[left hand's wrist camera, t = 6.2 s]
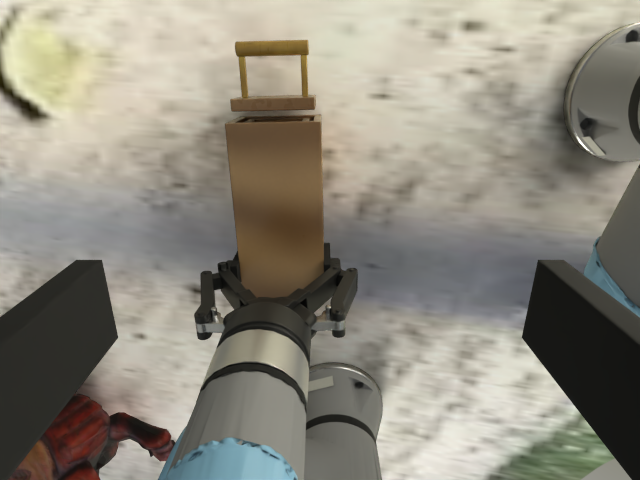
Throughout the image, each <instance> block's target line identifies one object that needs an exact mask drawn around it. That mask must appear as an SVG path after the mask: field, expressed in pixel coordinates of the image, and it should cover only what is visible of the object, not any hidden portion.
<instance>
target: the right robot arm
mask: <svg viewBox="0 0 640 480" xmlns="http://www.w3.org/2000/svg"><path fill="white" fill-rule="evenodd" d="M218 272H219V273H216V274H212V272H211V271H203V272H202V273H201V305H200V307H199V308H198V310H197V311H196V313H195V314H194V317H195V323H196V329H197V336H198V339H200V340H206V339H208V338H210V337H211V335H212V333H213V332H214V333H222V336H221V338H220V341H219V343H218V346H217V348H216V351H215V353H214V356H213V358H212V360H211V363H210V366H209V368H208V371H207V374H206V376H205V379H204V382H203V384H202V387H201V390H200V393H199V396H198V399H197V401H196V405H195V407H194V410H193V412H192V415H191V417H190V420H189V422H188V424H187V426H186V427H185V429H184V430H183V432H182V433H181V435H180V436H179V438H178V440H177V441H176V443H175V445H174V447H173V449H172V451H171V453H170V455H169V457H168V459H167V461H166V463H165V465H164V467H163V470H162V472H161V474H160V476H159V479H158V480H382V477H381V471H380V464H379V458H378V452H377V445H376V438H377V434H378V430H379V426H380V422H381V418H382V407H383V405H382V398H381V393H380V390H379V387H378V386H377V384H376V382H375V381H374V380H373V379H372V377H371V376H369V375H368V374H367V373H366V372H364V371H363V370H361V369H359V368H357V367H354V366H352V365H348V364H344V363H323V364H319V365H315V366H312V367H310V368H309V366H310V346H311V339H312V337H313V336H314V335H315V334H316V332H317V331H325V330H332V335H333V336H334V337H337V338H340V337H343V336H345V318H346V316H347V313H348V311H349V309H350V306H351V304H352V302H353V299H354V297H355V295H356V292H357V280H358V270H357V269H355V268H349V269H347V270H346V271H343V270H341V266H340V260H339V259H338V258H330V243H324V273H323V274H321V275H320V276H319V277H318V278H316V279H315V280H314V281H313V282H311V283H310V284H309V285H308V286H306V287H305V288H304V289H300V288H298V289H297V290H295V291H294V292H293V293H291V294H290V295H289V296H287V297H276V298H271V297H258V298H257V297H256V296H255V295H254V294H253V293H252V292H251V290H250V289H247V290H246V289H245V287H244V286H243V285H242V284H241V275H240V266H239V256H238V251H237V253H236V255H235V257H234V259H233V260H228V261H227V262H220V263H218ZM217 289H221V292H222V293H223V294H224V296H225V297H226V299H227V300H228V301H229V303H230V304H231V306H232V307H233V308H234V311H232V312H230V313H229V314H227V315H226V316H225V317H224V318H222V317H221V314H220V313H219V312H217V308H216V306H215V293H214V290H217ZM332 296H333V297H332ZM331 297H332V299H331V305H326V310H325V311H323V313H322V315H320V316H317V317H316V316H315V314H314V312H315V311H317V310H318V309H319V308H320V307H321V306H322V305H323V304H324V303H325V302H326V301H327V300H329V299H330V298H331Z"/></svg>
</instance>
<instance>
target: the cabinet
mask: <svg viewBox="0 0 640 480" xmlns="http://www.w3.org/2000/svg"><path fill="white" fill-rule="evenodd" d="M274 118H310V121H287V122H245V121H247V120H249V119H274ZM225 129H226V139H227V149H228V159H229V168H230V178H231V188H232V198H233V207H234V217H235V227H236V237H237V246H238V256H239V266H240V275H241V284H242V285H243V286H244V287H245V289H246V290H247V289H250V290H251V292H252V293H253V294H254V295H255V296H256V297H257V298H258V297H271V298H276V297H287V296H289V295H290V294H291V293H293V292H294V291H295V290H297V289H298V288H300V289H304V288H305V287H306V286H308V285H309V284H310V283H311V282H313V281H314V280H315V279H316V278H318V277H319V276H320V275H321V274H323V273H324V225H323V177H322V129H321V115H287V116H244V117H239V118H236V119H234V120H232V121H230V122H228V123H226V124H225Z"/></svg>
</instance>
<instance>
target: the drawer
mask: <svg viewBox="0 0 640 480" xmlns="http://www.w3.org/2000/svg"><path fill="white" fill-rule="evenodd" d="M235 51H236V55H237V56H238V57H239V67H240V78H241V90H242V97H239V98H234V99H231V100H230V101H231V111H273V110H314V109H315V106H316V95H308V78H307V55H308V54H309V46H308V40H284V41H245V42H236V43H235ZM285 55H301V73H302V95H288V96H248V86H247V74H246V62H245V56H285ZM287 121H310V118H274V119H249V120H247V121H245V122H287Z"/></svg>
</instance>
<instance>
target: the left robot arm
mask: <svg viewBox="0 0 640 480" xmlns="http://www.w3.org/2000/svg"><path fill="white" fill-rule="evenodd" d="M564 119H565V123H566V127H567V130H568V132H569V134H570V136H571V138H572V139H573V141H574V142H575V143H576V144H577V145H578V146H579V147H580V148H581V149H582V150H584V151H585V152H587V153H589V154H590V155H593V156H595V157H598V158H602V159H605V160H609V161H615V162H631V161H638V160H640V22H638V23H633V24H629V25H626V26H624V27H621V28H619V29H617V30H614V31H613V32H611V33H609V34H608V35H606V36H605V37H603V38H602V39H600V40H599V41H598V42H597V43H596V44H594V45H593V46H592V47H591V48H590V49H589V50H588V52H587V53H586V54H585V55H584V56H583V58H582V59H581V60H580V62H579V63H578V65H577V66H576V68H575V70H574V71H573V73H572V75H571V78H570V80H569V83H568V86H567V89H566V93H565V98H564ZM117 338H118V335H117V330H116V325H115V320H114V316H113V311H112V306H111V301H110V297H109V292H108V287H107V282H106V278H105V273H104V268H103V263H102V260H76V261H74V262H73V263H72V264H70V265H69V266H68V267H66V268H65V269H64V270H62V271H61V272H60V273H58V274H57V275H56V276H55V277H53V278H52V279H51V280H49V281H48V282H47V283H45V284H44V285H43V286H41V287H40V288H39V289H37V290H36V291H35V292H33V293H32V294H31V295H29V296H28V297H27V298H25V299H24V300H23V301H21V302H20V303H19V304H17V305H16V306H15V307H13V308H12V309H11V310H9V311H8V312H7V313H5V314H4V315H3V316H1V317H0V480H8V479H9V478H10V477H11V475H12V474H13V473H14V471H15V470H16V469H17V467H18V466H19V465H20V464H21V462H22V461H23V460H24V458H25V457H26V456H27V455H28V453H29V452H30V451H31V449H32V448H33V447H34V446H35V444H36V443H37V442H38V440H39V439H40V438H41V436H42V435H43V434H44V433H45V431H46V430H47V429H48V427H49V426H50V425H51V424H52V422H53V421H54V420H55V418H56V417H57V416H58V414H59V413H60V412H61V411H62V409H63V408H64V407H65V405H66V404H67V403H68V402H69V400H70V399H71V398H72V396H73V395H74V394H75V393H76V391H77V390H78V389H79V387H80V386H81V385H82V383H83V382H84V381H85V380H86V378H87V377H88V376H89V374H90V373H91V372H92V371H93V369H94V368H95V367H96V365H97V364H98V363H99V362H100V360H101V359H102V358H103V356H104V355H105V354H106V352H107V351H108V350H109V349H110V347H111V346H112V345H113V343H114V342H115V341H116V340H117ZM522 338H523V340H524V341H525V342H526V343H527V345H528V346H529V347H530V349H531V350H532V351H533V352H534V354H535V355H536V356H537V358H538V359H539V360H540V362H541V363H542V364H543V365H544V367H545V368H546V369H547V371H548V372H549V373H550V374H551V376H552V377H553V378H554V380H555V381H556V382H557V383H558V385H559V386H560V387H561V389H562V390H563V391H564V393H565V394H566V395H567V396H568V398H569V399H570V400H571V402H572V403H573V404H574V405H575V407H576V408H577V409H578V411H579V412H580V413H581V414H582V416H583V417H584V418H585V420H586V421H587V422H588V424H589V425H590V426H591V427H592V429H593V430H594V431H595V433H596V434H597V435H598V436H599V438H600V439H601V440H602V442H603V443H604V444H605V446H606V447H607V448H608V449H609V451H610V452H611V453H612V455H613V456H614V457H615V458H616V460H617V461H618V462H619V463H620V465H621V466H622V467H623V469H624V470H625V471H626V473H627V474H628V475H629V477H630V478H631V479H632V480H640V165H639V168H637V170H636V172H635V174H634V176H633V178H632V179H631V181H630V183H629V185H628V187H627V189H626V191H625V193H624V194H623V196H622V198H621V200H620V202H619V204H618V206H617V208H616V209H615V211H614V213H613V215H612V217H611V219H610V221H609V222H608V224H607V226H606V228H605V230H604V232H603V234H602V236H601V237H598V238H597V240H596V241H595V243H594V247H593V252H592V255H591V257H590V259H589V261H588V263H587V265H586V267H585V270H584V275H583V274H582V273H580V272H579V271H578V270H576V269H575V268H574V267H572V266H571V265H570V264H568V263H567V262H566V261H564V260H538V263H537V268H536V273H535V278H534V282H533V287H532V292H531V297H530V301H529V306H528V311H527V316H526V320H525V325H524V330H523V335H522Z"/></svg>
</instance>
